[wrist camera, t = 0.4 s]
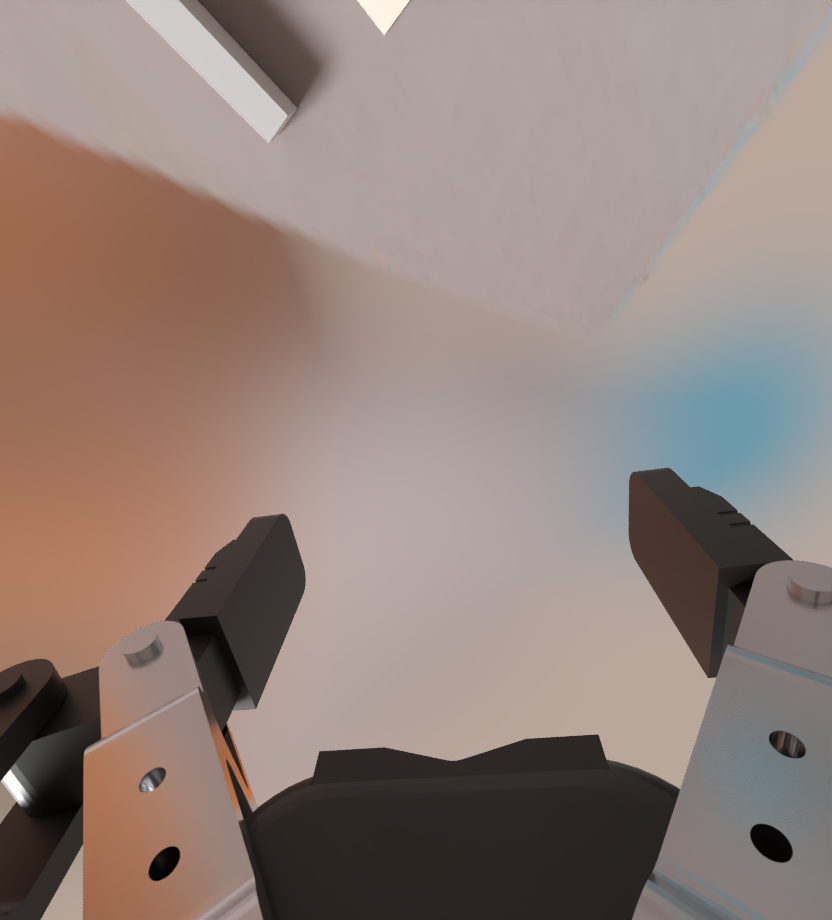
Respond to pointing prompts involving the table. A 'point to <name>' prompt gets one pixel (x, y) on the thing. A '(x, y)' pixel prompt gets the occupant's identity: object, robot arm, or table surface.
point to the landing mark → (383, 11)
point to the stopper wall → (220, 62)
